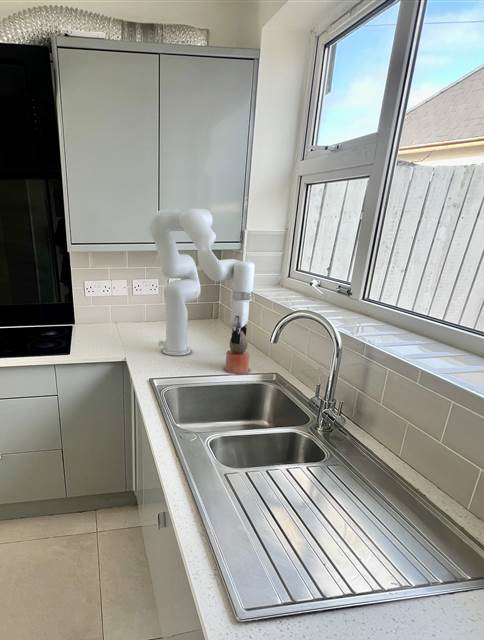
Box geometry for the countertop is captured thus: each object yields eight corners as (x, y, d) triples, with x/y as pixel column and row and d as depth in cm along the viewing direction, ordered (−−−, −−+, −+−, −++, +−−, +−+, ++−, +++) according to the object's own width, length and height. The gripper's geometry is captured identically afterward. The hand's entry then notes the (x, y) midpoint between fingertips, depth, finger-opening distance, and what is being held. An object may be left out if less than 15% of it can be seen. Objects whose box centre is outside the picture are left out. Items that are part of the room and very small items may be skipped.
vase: (246, 355, 156) (248, 333, 152) (228, 354, 157) (230, 332, 154) (246, 350, 162) (248, 328, 158) (229, 349, 163) (230, 328, 160)
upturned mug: (245, 374, 157) (246, 357, 154) (222, 371, 160) (223, 354, 157) (251, 365, 167) (253, 348, 164) (230, 362, 170) (231, 345, 167)
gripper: (238, 291, 160) (235, 333, 166) (225, 299, 145) (223, 344, 152) (257, 293, 157) (253, 335, 163) (246, 300, 142) (242, 347, 149)
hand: (238, 340), depth 157 cm, fingers open, 9 cm apart
